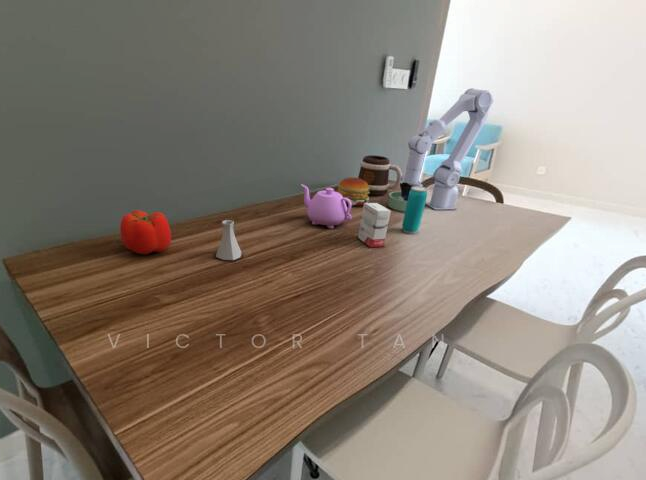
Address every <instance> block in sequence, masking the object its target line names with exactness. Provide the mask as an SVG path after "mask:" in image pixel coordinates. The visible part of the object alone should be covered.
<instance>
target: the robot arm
mask: <svg viewBox="0 0 646 480" xmlns="http://www.w3.org/2000/svg"><path fill="white" fill-rule="evenodd" d="M493 103H494V98H493V94H492V92H491V90H489V89H478V88H473V87H472V88H467V90H465V91H464V92H463V93H462V94H461V95H460V96H459V98H458V100H457V101H456V102H455V103H454V104H453V105H452V106H451V107H450V108H449V109H448V110H447V111H446V112H445V113H444V114H443V115H442V116H441V117H440V118H439V119H434V120H430V121H429V124H428V125H427V126H426V127H425V128H424V129H423V130H421V131H419V133H418V134H416V135H414V136H412V137H411V139H410V141H408V144H407V145H408V149H409V155H408V157H407V158H408V159H407V164H406V168H405V173H404V175H402V176H401V178H400V181H401V183H400V185H399V188H400V192H401V195H402V196H407V201H408V196H409V192H410V190H411V187H414V186H418V187H424V185H423V184H422V183H421V181H420V179H421V174H422V170H423V164H424V161H425V156H426V153H427V152H428V151H429V150H430V149H431V145H432V144H433V142H435V141H436V140H437V139H438V138H439V137H440V136H441V135H442V134H443V133H445V132H446V126H448V125H450V123H452V122H453V121H454V120H455V119H456V118H458V117H459V116H460V115H461V114H462V113H464V112H467V113H468V115H469V116H468V117H469V120H468V122H467V123H466V125H465V127H464V128H463V131H462V132H461V134H460V136H459V138H458V139H457V141H456V143H455V145H454V146H453V149H452V150H451V152H450V154H449V156H448V158H447V159H445V160H443V161H442V162H441V163H440V165H439V166H438V167H437V168H435V170H434V172H433V173H432V174H433V176H432V177H433V180H434V186H433V189H432V194H431V198H430V202H425V206H428V207H430V208H432V209H433V210H435V211H436V210H438V211H439V210H440V211H443V210H456V203H457V200H458V196H459V189H458V186H457V184H458V183H459V181H460V178H461V174H462V173H463V168H462V163H463V161H464V160H465V158H466V156H467V155H468V153H469V151H470V149H471V147H472V145H473V144H474V142H475V140H476V139H477V137H478V135H479V134H480V132H481V130H482V129H483V127H484V125H485V123H486V122H487V120H488V116H489V113H490V112H489V111H490V108H491V107H492V105H493Z"/></svg>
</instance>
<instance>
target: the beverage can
mask: <svg viewBox="0 0 646 480" xmlns="http://www.w3.org/2000/svg"><path fill="white" fill-rule="evenodd" d="M427 197H428V189H427V188H426V187H424V186H423V187H418V186H414V187H411V190H410V192H409V196H408V201H407V206H406V210H405V212H404V214H403V220H402V225H401V226H402V231H403V232H404V233H405V234H410V235H415V234H417V232H418V231H419V229H420V227H421V222H422V218H423V214H424V209H425V206H426V203H427V202H426V201H427Z"/></svg>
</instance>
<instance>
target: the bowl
mask: <svg viewBox="0 0 646 480" xmlns="http://www.w3.org/2000/svg"><path fill="white" fill-rule="evenodd" d="M399 196H402V195H401V191H393V192H390V193H389V194H388V197H387V198H388V199H387V206H388V207H389V208H390V209H392V210H394V211H397V212H402V213H405V210H406V206H407V201H403V200H399Z"/></svg>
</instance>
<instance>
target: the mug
mask: <svg viewBox="0 0 646 480" xmlns="http://www.w3.org/2000/svg"><path fill="white" fill-rule="evenodd" d="M390 170H392V171H395V172H396V175H397V176H396V181H395V184H389V178H390V177H389V176H390ZM401 176H403V173H402V170H401V168H400V167H399V166H398V165H394V164H391V163H390V159H389V158H388V157H386V156H382V155H365V156H363V158H362V160H361V161H360V168H359V173H358V176H357V178H359V179H362V180H364V181H365V182H367V184H368V185H369V192H370V193H369V194H368V197H369V196H370V197H381V196H385V195H387V194H388V191H389V190H391V191H392V190H395V189H397V188H400V183H402V181H400V178H401Z"/></svg>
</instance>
